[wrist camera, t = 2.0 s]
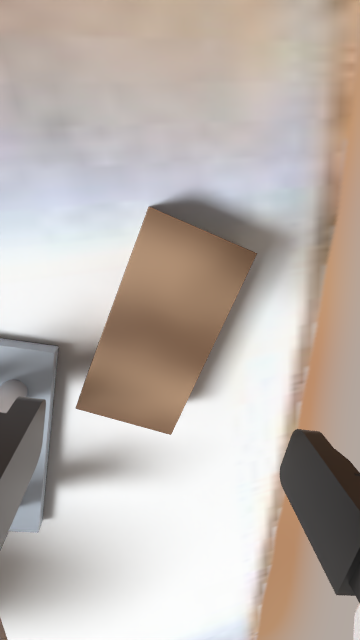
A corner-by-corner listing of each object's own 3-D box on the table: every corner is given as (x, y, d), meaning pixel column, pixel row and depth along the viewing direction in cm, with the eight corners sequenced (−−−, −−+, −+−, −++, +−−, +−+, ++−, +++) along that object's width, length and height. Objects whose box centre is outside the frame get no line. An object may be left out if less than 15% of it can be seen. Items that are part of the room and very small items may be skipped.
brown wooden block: (148, 206, 19) (149, 206, 16) (238, 245, 20) (257, 253, 17) (85, 378, 22) (75, 408, 19) (167, 402, 23) (170, 434, 20)
